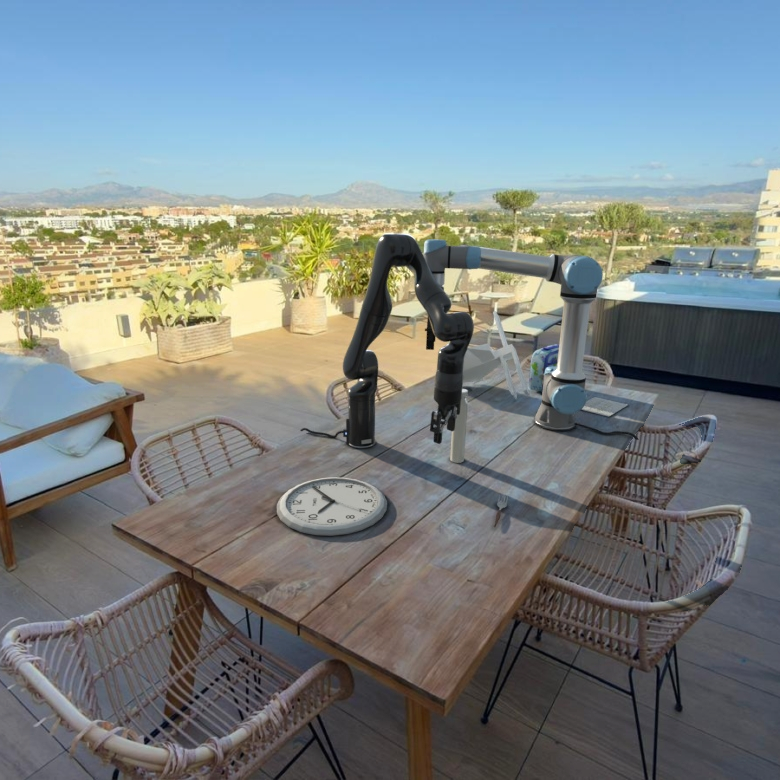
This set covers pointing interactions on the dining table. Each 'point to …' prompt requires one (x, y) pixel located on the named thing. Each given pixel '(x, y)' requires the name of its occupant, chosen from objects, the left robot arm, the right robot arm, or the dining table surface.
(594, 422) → the dining table surface
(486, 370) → the white plastic object
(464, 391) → the cap
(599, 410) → the invitation card
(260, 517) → the dining table surface
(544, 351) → the lunch box
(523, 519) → the dining table surface
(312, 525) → the wall clock
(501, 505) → the fork
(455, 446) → the bottle
